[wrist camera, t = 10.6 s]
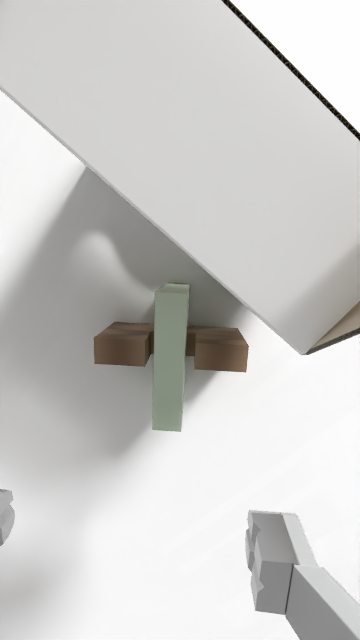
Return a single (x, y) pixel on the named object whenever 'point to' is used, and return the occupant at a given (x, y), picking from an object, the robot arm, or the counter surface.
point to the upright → (202, 342)
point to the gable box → (215, 135)
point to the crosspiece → (169, 356)
